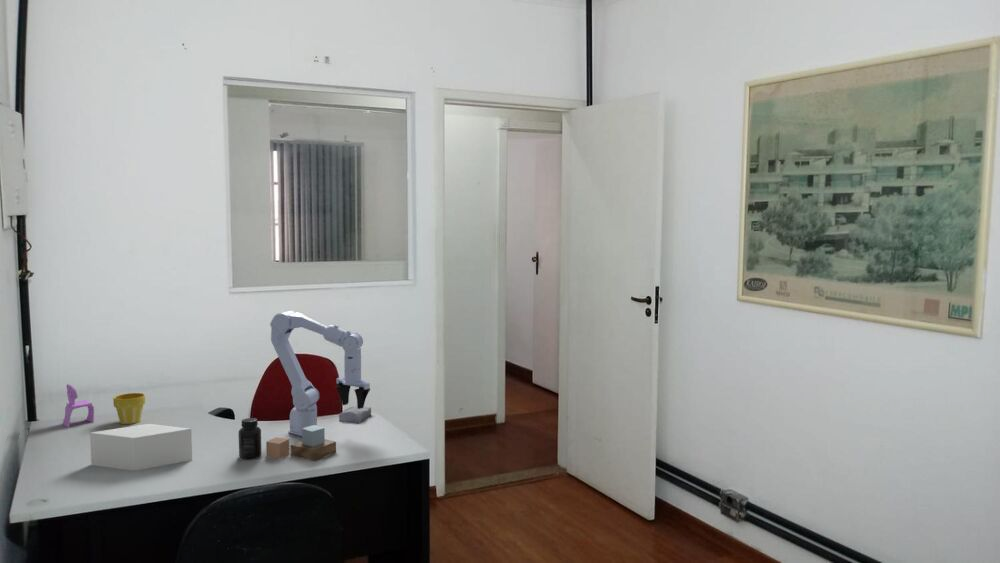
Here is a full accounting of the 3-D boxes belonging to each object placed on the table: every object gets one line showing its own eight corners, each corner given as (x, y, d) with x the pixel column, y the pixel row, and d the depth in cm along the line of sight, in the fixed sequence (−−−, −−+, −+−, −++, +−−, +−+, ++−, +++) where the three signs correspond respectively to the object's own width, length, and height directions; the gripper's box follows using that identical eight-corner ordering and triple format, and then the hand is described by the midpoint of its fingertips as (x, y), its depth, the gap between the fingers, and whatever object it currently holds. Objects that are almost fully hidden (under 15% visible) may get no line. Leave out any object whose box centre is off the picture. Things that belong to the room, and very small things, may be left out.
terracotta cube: (266, 456, 223) (266, 441, 222) (276, 452, 227) (276, 437, 227) (279, 459, 221) (279, 443, 221) (289, 454, 226) (289, 439, 225)
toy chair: (96, 422, 256) (94, 382, 254) (69, 428, 249) (67, 387, 248) (87, 418, 261) (86, 379, 260) (61, 423, 254) (59, 383, 253)
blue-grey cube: (302, 443, 225) (301, 428, 225) (314, 439, 229) (314, 424, 229) (312, 446, 222) (312, 431, 222) (324, 442, 226) (324, 427, 226)
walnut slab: (291, 457, 224) (290, 445, 224) (313, 448, 233) (312, 436, 232) (314, 462, 219) (314, 450, 219) (336, 453, 228) (336, 441, 228)
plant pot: (121, 418, 262) (120, 392, 261) (150, 417, 263) (149, 392, 262) (109, 426, 252) (108, 399, 251) (139, 425, 253) (138, 399, 252)
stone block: (337, 426, 263) (361, 422, 261) (335, 413, 262) (359, 410, 260) (350, 418, 274) (373, 415, 272) (348, 406, 274) (371, 403, 272)
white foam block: (186, 468, 212) (185, 435, 211) (81, 473, 206) (80, 440, 205) (197, 452, 226) (196, 421, 225) (100, 457, 220) (99, 425, 219)
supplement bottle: (266, 454, 225) (265, 418, 224) (252, 461, 218) (251, 423, 217) (248, 451, 227) (247, 415, 226) (234, 458, 220) (233, 421, 219)
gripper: (329, 367, 244) (330, 405, 246) (359, 373, 236) (359, 412, 237) (344, 364, 250) (344, 401, 251) (374, 369, 242) (374, 407, 243)
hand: (352, 406), depth 245 cm, fingers open, 7 cm apart
